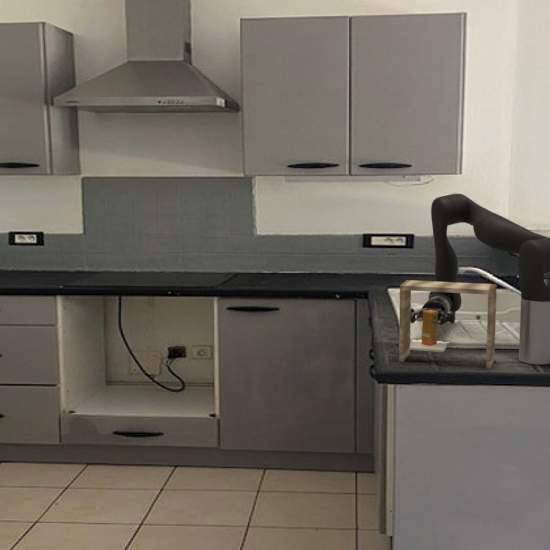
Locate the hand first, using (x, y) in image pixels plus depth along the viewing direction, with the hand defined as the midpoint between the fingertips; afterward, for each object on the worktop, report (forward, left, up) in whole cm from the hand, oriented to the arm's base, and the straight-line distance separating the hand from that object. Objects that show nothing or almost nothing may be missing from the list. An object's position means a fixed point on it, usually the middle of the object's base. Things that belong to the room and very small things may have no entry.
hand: (426, 320), depth 241 cm
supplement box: (-1, -2, -8) cm, 8 cm away
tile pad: (0, -2, -8) cm, 8 cm away
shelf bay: (-8, +13, -8) cm, 17 cm away
